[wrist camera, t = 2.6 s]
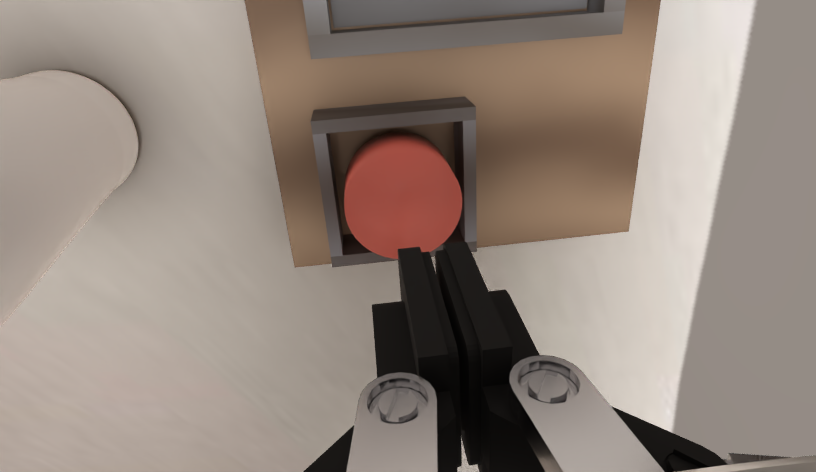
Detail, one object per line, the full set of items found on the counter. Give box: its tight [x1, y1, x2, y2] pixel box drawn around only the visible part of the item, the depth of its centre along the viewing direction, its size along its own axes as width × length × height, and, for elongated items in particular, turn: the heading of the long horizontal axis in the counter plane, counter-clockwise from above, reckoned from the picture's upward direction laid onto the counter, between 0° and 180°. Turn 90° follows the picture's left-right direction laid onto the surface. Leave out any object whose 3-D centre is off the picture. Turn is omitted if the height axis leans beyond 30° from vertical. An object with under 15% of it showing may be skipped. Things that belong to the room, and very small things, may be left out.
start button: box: [344, 132, 462, 259], centre depth 20 cm, size 4×4×2 cm
